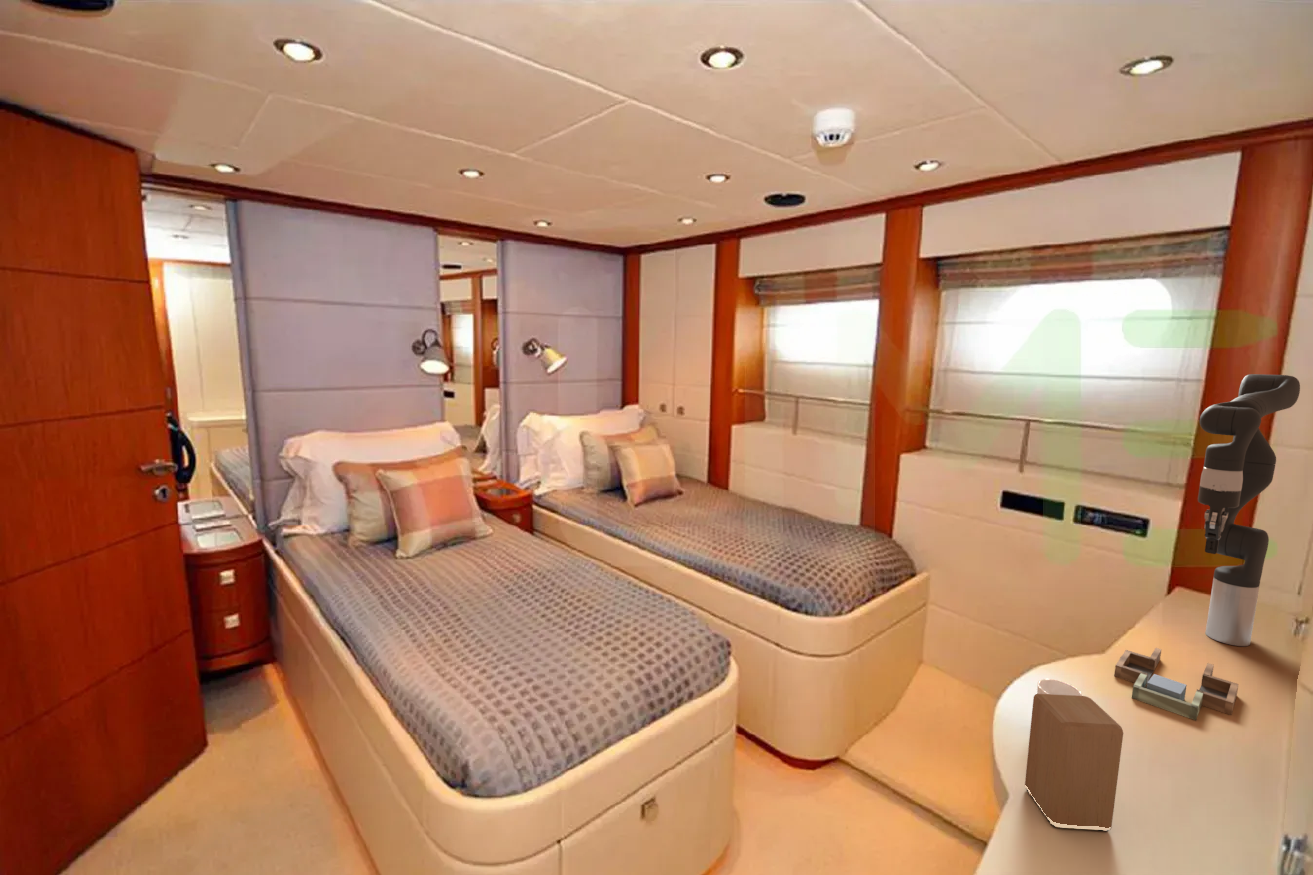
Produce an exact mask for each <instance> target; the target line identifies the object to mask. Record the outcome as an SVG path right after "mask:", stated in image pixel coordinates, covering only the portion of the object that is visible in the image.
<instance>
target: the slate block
mask: <svg viewBox="0 0 1313 875" xmlns="http://www.w3.org/2000/svg"><path fill="white" fill-rule="evenodd" d="M1187 686H1188V685H1187V684H1185V683H1182V682H1180V681H1176V680H1174V679H1170V678H1168V677H1165V676H1162V675H1158V674H1156V673H1153V674H1152V675H1151V677H1150V679H1149V681H1148V682H1147V685H1146V689H1149V690H1152V691H1155V692H1158V693H1161V694H1164V695H1167V696H1170V697H1173V698H1176V699H1179V700H1182V701H1185V698H1186V691H1187Z"/></svg>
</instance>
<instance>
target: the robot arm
mask: <svg viewBox="0 0 1313 875" xmlns="http://www.w3.org/2000/svg"><path fill="white" fill-rule="evenodd" d="M1300 384H1301V382H1300V381H1299V379H1298V378H1297V377H1295V376H1293V375H1287V374H1286V375H1285V374H1260V373H1258V374H1257V373H1256V374H1255V373H1254V374H1253V373H1249V374H1247V375H1245V376H1244V377H1243V379H1242V380H1241V382H1240V385H1239V389H1238V396H1237V397H1235V398H1234V399H1232V400H1231V401H1227V402H1226V401H1225V402H1220V403H1216V404H1212V405H1209V406H1208V407H1207V408H1205V409H1204V411H1203V412H1202V413H1201V414H1200V417H1199V426H1200V428H1201V429H1202V430H1203V431H1204V432H1206V433H1209V434H1212V435H1219V436H1220V435H1221V436H1232V437H1233V438H1232V442H1228V443H1226V442H1225V443H1213V444H1210V445H1207V447H1206V449H1205V455H1204V456H1205V457H1204V462H1203V463H1204V464H1203V468H1202V471H1201V475H1200V481H1199V489H1198V495H1197V502H1198V503H1200V504H1202V505H1205V506H1209V509H1206V511H1204V530H1205V531H1204V532H1205V534H1204V537H1205V539H1206V540H1205V547H1204V552H1205V553H1207V554H1212V555H1216V554H1219V555H1222V556H1226V557H1230V558H1235V559H1240V560H1244V562H1243V564H1240V565H1222V566H1217V567H1216V568H1215V569H1214V572H1213V579H1212V586H1211V593H1210V600H1209V605H1208V606H1209V607H1208V613H1207V621H1206V626H1205V635H1206V636H1207V637H1208V638H1210V639H1212V640H1214V641H1217V642H1220V643H1223V644H1227V645H1232V646H1236V647H1237V646H1238V647H1248V646H1251V641H1252V635H1253V634H1252V633H1253V629H1254V624H1255V623H1254V622H1255V616H1256V610H1257V604H1258V599H1259V598H1258V597H1259V591H1260V584H1261V579H1262V575H1263V569H1264V563H1265V560H1266V555H1267V552H1268V547H1269V540H1270V539H1269V533H1268V532H1267V531H1266V530H1264V529H1261V528H1257V527H1250V526H1246V525H1240V524H1235V520H1236V518H1237V516H1238V514H1239V513H1240V511H1241V510H1242V509H1243V507H1245V506H1246V505H1247V504H1248V503H1249V502H1251V500H1254V498H1256V497H1257V496H1258V495H1260V494H1261V493H1263V491H1265V490H1266V489H1267V488H1268V487H1269V486H1270V484H1271V483H1272V482H1273V480H1274V474H1275V469H1276V465H1277V457H1276V453H1275V452H1274V450H1273V448H1272V447H1271V444H1269V442H1268V441H1267V439H1266V438H1265V436H1264V435H1263V433H1262V431H1261V430H1260V426H1261V423H1262V418H1263V417H1265V416H1267V415H1271V414H1273V413H1278V412H1280V411H1283V410H1284V411H1285V410H1287V409H1291V407H1293V406H1294V405H1295V404H1296V403H1297V402H1298V399H1299V396H1300V391H1301V385H1300Z"/></svg>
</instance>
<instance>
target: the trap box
mask: <svg viewBox="0 0 1313 875" xmlns="http://www.w3.org/2000/svg"><path fill="white" fill-rule="evenodd" d="M1161 655H1162V649H1161V648H1158V647H1155V648H1154V650H1153V651H1152V653H1151V654H1150V656H1147V655H1144V654H1141V653H1138V652H1134V651H1131V650H1128V649H1125V650H1124V652H1123V653H1122V655H1121V656H1120V658H1119V659H1118V661H1117V662H1116V664H1115V667H1114V674H1113V676H1114V677H1116V678H1119V679H1122V680H1125V681H1128V682H1130V683H1133V686H1132V692H1131V698H1132V699H1133V700H1136V701H1140V702H1143V703H1145V704H1148V705H1149V706H1153V707H1156V708H1159V709H1162V710H1164V711H1168V712H1171V713H1172V714H1173V713H1174V714H1176V715H1179V716H1182V717H1185V718H1188V719H1190V720H1193V721H1197V718H1198V716H1199V713H1200V711H1201V707H1205V708H1209V709H1211V710H1214V711H1218V712H1220V713H1222V714H1223V713H1224V714H1226V715H1229V716H1232V714H1233V710H1234V707H1235V705H1236V704H1235V703H1236V699H1237V695H1238V690H1239V683H1237V682H1234V681H1231V680H1227V679H1223V678H1220V677H1217V676H1214V674H1213V673H1214V668H1215V666H1214V664H1213V663H1209V662H1208V663H1206V665H1205V667H1204V669H1203V673H1202V677H1201V682H1200V683H1201V684H1200V687H1199V689H1197V688H1196V691H1195V693H1194V696H1193V699H1192V701H1191V703H1190V702H1188V701H1185V700H1184V701H1182V700H1179V699H1176V698H1173V697H1170V696H1167V695H1164V694H1161V693H1158V692H1155V691H1152V690H1149V689H1147V682H1148V681H1149V680H1150V678H1151V677H1152V676H1153V675H1154V672H1155V670H1156V668H1157V666H1158V664H1159V662H1160V661H1161Z"/></svg>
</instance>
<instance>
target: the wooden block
mask: <svg viewBox="0 0 1313 875" xmlns="http://www.w3.org/2000/svg"><path fill="white" fill-rule="evenodd" d="M1031 710H1032V711H1031V720H1030V731H1029V738H1028V740H1029V741H1028V750H1027V760H1026V768H1025V769H1026V771H1025V782H1024V786H1025V785H1026V786H1027V787H1028V789H1029V790H1030V792H1031V794H1032V796H1033V797H1034V798H1035V800H1036V802H1037V803H1038V804H1039V805H1040V807H1041V808H1042V810H1043V812H1044V813H1045V814H1046V816H1047V817H1049V818H1050V819H1051V820H1052V821H1053V822H1056V823H1060V824H1067V825H1077V826H1099V827H1105V828H1109V827H1111V828H1113V826H1112V825H1113V817H1114V812H1115V810H1114V808H1115V801H1116V794H1117V786H1118V777H1119V771H1120V761H1121V755H1122V746H1123V741H1124V740H1123V739H1124V738H1123V737H1124V730H1123V727H1122V726H1121V725H1120V724H1119V723H1118V722H1117V721H1116V720H1114V718H1113V717H1112V716H1111V715H1109V714H1108V713H1107V712H1106V711H1105V710H1104V709H1103V708H1102V707H1101V706H1100V705H1099V704H1098V703H1096V702H1095V701H1094V700H1093V699H1092V698H1090V697H1089V696H1086V695H1082V696H1076V695H1055V694H1037V693H1036V694H1035V693H1034V695H1033V700H1032V709H1031Z"/></svg>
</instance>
